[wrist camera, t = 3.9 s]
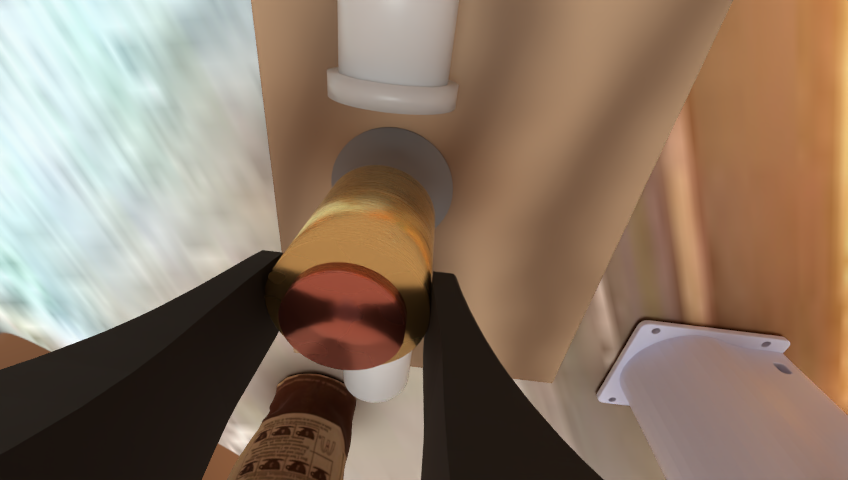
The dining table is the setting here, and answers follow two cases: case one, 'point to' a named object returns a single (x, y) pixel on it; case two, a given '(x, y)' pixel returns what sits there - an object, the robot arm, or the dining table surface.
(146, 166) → the dining table surface
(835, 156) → the dining table surface
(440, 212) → the flange seat
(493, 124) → the board
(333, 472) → the coffee cup
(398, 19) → the pipe stubs
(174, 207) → the dining table surface
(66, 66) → the dining table surface
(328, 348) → the tan red-topped cylinder
